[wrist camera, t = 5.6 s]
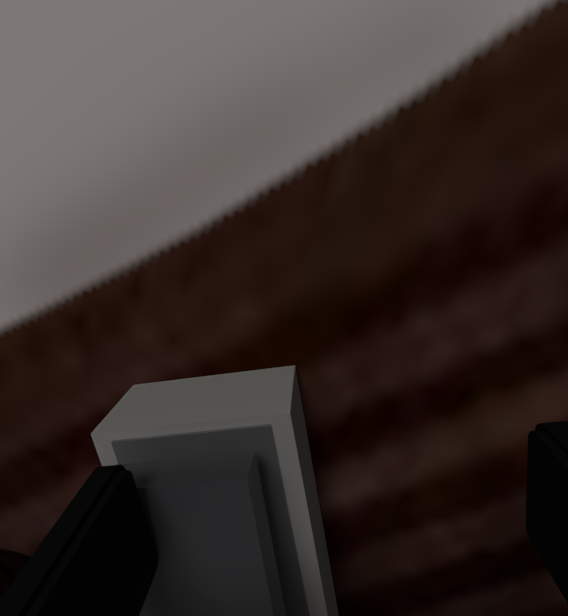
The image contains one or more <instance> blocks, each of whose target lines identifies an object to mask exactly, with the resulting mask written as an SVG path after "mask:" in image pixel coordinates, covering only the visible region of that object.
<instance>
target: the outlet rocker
mask: <svg viewBox="0 0 568 616" xmlns="http://www.w3.org/2000/svg"><path fill="white" fill-rule="evenodd" d="M119 465H123V466H124V467H125V469H126V470H130V471H131V473H132V475H133V478H134V481H135V484H136V487H137V490H138V493H139V496H140V499H141V502H142V506H143V509H144V512H145V515H146V518H147V521H148V524H149V527H150V530H151V534H152V537H153V540H154V543H155V546H156V549H157V552H158V566H157V570H156V573H155V575H154V578H153V581H152V583H151V586H150V588H149V591H148V594H147V596H146V599H145V602H144V604H143V607H142V609H141V612H140V615H139V616H286V613H285V607H284V602H283V597H282V591H281V586H280V581H279V575H278V570H277V565H276V559H275V554H274V549H273V544H272V538H271V533H270V528H269V522H268V517H267V512H266V506H265V501H264V496H263V490H262V485H261V480H260V474H259V469H258V464H257V459H256V453H255V451H253V452H243V453H233V454H222V455H212V456H201V457H191V458H181V459H170V460H160V461H150V462H139V463H129V464H119Z"/></svg>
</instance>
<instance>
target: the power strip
mask: <svg viewBox="0 0 568 616" xmlns="http://www.w3.org/2000/svg"><path fill="white" fill-rule="evenodd" d="M91 436H92V439H93V442H94V444H95V447H96V450H97V453H98V456H99V459H100V461H101V464H102V466H111V465H119V464H129V463H139V462H150V461H160V460H170V459H181V458H191V457H201V456H212V455H222V454H233V453H243V452H253V451H255V453H256V459H257V464H258V469H259V474H260V480H261V485H262V490H263V496H264V501H265V506H266V512H267V517H268V522H269V528H270V533H271V538H272V544H273V549H274V554H275V559H276V565H277V570H278V575H279V581H280V586H281V591H282V597H283V602H284V607H285V613H286V616H339V614H338V608H337V602H336V596H335V591H334V585H333V579H332V574H331V568H330V562H329V556H328V551H327V545H326V539H325V533H324V528H323V522H322V516H321V511H320V505H319V499H318V493H317V488H316V482H315V476H314V471H313V465H312V459H311V453H310V448H309V442H308V436H307V431H306V425H305V419H304V413H303V408H302V402H301V396H300V391H299V385H298V379H297V373H296V368H295V365H294V366H286V367H277V368H269V369H261V370H253V371H244V372H236V373H228V374H220V375H211V376H203V377H195V378H187V379H178V380H170V381H162V382H153V383H145V384H137V385H133V386H132V387H131V388H130V390H129V391H128V392H127V393H126V394H125V395H124V396H123V398H122V399H121V400H120V401H119V402H118V403H117V404H116V406H115V407H114V408H113V409H112V410H111V411H110V412H109V414H108V415H107V416H106V417H105V418H104V419H103V420H102V422H101V423H100V424H99V425H98V426H97V427H96V428H95V429H94V431H93V432H92V433H91Z"/></svg>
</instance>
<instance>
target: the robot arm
mask: <svg viewBox="0 0 568 616" xmlns="http://www.w3.org/2000/svg"><path fill="white" fill-rule="evenodd" d="M526 530H527V534H528V537H529V539H530V542H531V544H532V545H533V547H534V549H535V550H536V552H537V554H538V555H539V557H540V558H541V560H542V562H543V563H544V565H545V567H546V568H547V570H548V572H549V573H550V575H551V577H552V578H553V580H554V581H555V583H556V585H557V586H558V588H559V590H560V591H561V593H562V595H563V596H564V598H565V599H566V601H567V603H568V422H567V421H560V422H550V423H540V424H538V425H537V426H536V428H535V431H531V432H530V433H529V435H528V464H527V500H526ZM157 566H158V552H157V549H156V546H155V543H154V540H153V537H152V534H151V530H150V527H149V524H148V521H147V518H146V515H145V512H144V509H143V506H142V502H141V499H140V496H139V493H138V490H137V487H136V484H135V481H134V478H133V475H132V473H131V471H130V470H126V469H125V467H124V466H123V465H111V466H100V467H97V468H96V469H95V470H94V471H93V472H92V474H91V475H90V476H89V478H88V479H87V480H86V482H85V483H84V485H83V486H82V487H81V489H80V490H79V491H78V493H77V494H76V496H75V497H74V498H73V500H72V501H71V502H70V504H69V505H68V507H67V508H66V509H65V511H64V512H63V514H62V515H61V516H60V518H59V519H58V520H57V522H56V523H55V525H54V526H53V527H52V529H51V530H50V531H49V533H48V534H47V536H46V537H45V538H44V540H43V541H42V542H41V544H40V545H39V547H38V548H37V549H36V551H35V552H34V553H33V555H32V556H31V558H30V559H29V560H28V562H27V563H26V564H25V566H24V567H23V569H22V570H21V571H20V573H19V574H18V576H17V577H16V578H15V580H14V581H13V582H12V584H11V585H10V587H9V588H8V589H7V591H6V592H5V593H4V595H3V596H2V598H1V599H0V616H139V615H140V612H141V609H142V607H143V604H144V602H145V599H146V596H147V594H148V591H149V588H150V586H151V583H152V581H153V578H154V575H155V573H156V570H157Z"/></svg>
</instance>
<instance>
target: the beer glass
mask: <svg viewBox="0 0 568 616" xmlns="http://www.w3.org/2000/svg"><path fill="white" fill-rule="evenodd" d="M29 559H30V558H28V557H25V556H23V555H20V554H17V553H14V552H10V551H5V550H0V599H1V598H2V596H3V595H4V593H5V592H6V591H7V589H8V588H9V587H10V585H11V584H12V582H13V581H14V580H15V578H16V577H17V576H18V574H19V573H20V571H21V570H22V569H23V567H24V566H25V564H26V563H27V562H28V560H29Z"/></svg>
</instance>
